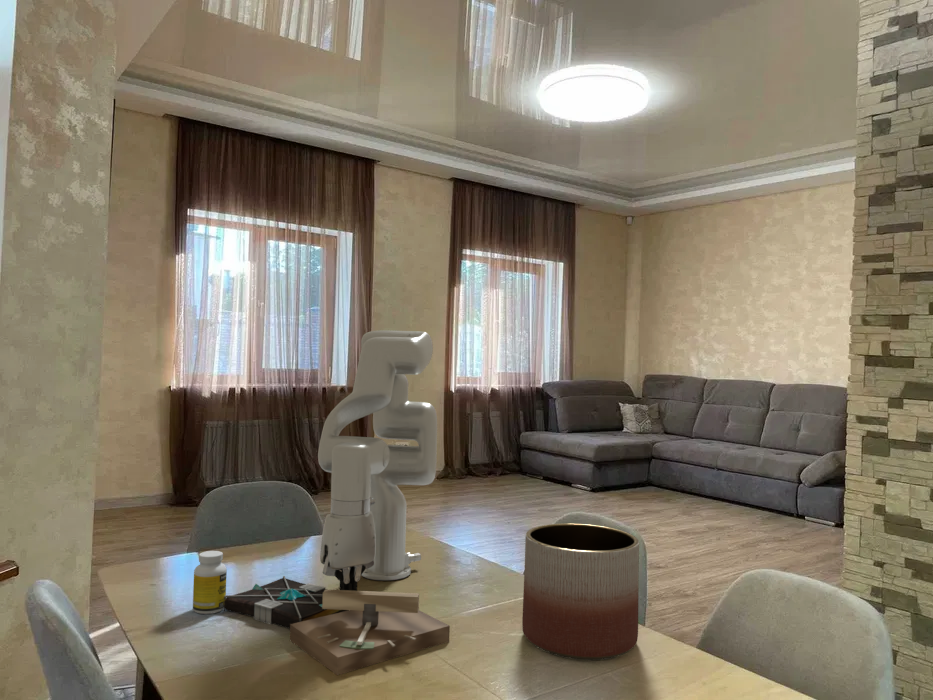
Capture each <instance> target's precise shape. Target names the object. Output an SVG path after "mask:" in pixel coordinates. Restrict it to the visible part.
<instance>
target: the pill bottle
mask: <svg viewBox="0 0 933 700" xmlns="http://www.w3.org/2000/svg"><path fill="white" fill-rule="evenodd" d="M223 557H224V554H223V552H222V551H219V550H207V551H203V552H201V553H199V554H198V562H199V564H198V565H197V566H196V567H195V569H194V570H193V588H192V592H193V593H192V610H193V612H195V613H197V614H201V615H211V614H216V613H219V612H221V611H224V601H225V600H224V598H225V595H227V570H228V569H227V567H226V565H225V564H224V563H223V562H222V561H223Z"/></svg>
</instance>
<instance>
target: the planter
mask: <svg viewBox="0 0 933 700" xmlns="http://www.w3.org/2000/svg"><path fill="white" fill-rule="evenodd" d="M524 544H525V546H524V572H523V574H524V576H523V595H522V597H523V599H522V626H521V627H522V633H523V635H524V637H525V638H526V639H527V641H529V642H530V643H531V644H533V645H534V646H535V647H537V648H538V649H540V650H542V651H544V652H546V653H548V654H551V655H554V656H557V657H561V658H565V659H566V658H567V659H571V660H581V661H597V660H598V661H600V660H608V659H613V658H617V657H619V656H621V655H624V654H626V653H628V652H629V651H631V650H632V649H634V648H635V647H636V645H637V642H638V637H639V588H640V587H639V576H640V575H639V574H640V573H639V572H640V569H639V568H640V566H639V565H640V541H639V539H638V537H637V536H635V535H633V534H631V533H630V532H626V531H625V530H621V529H618V528H613V527H610V526H603V525H597V524H587V523H574V522H573V523H571V522H570V523H567V522H566V523H550V524H543V525H538V526H535V527H532V528H530V529H529V530H527V531H526V532H525V543H524Z"/></svg>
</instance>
